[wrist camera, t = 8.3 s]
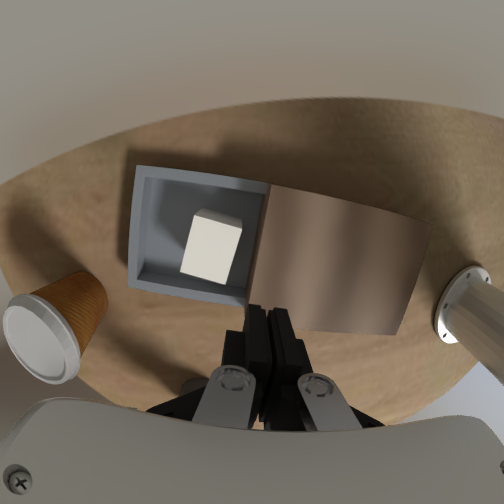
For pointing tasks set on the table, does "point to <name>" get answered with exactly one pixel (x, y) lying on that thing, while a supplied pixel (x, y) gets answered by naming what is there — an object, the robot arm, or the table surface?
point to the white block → (211, 245)
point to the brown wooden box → (334, 262)
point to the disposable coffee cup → (55, 325)
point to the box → (188, 230)
